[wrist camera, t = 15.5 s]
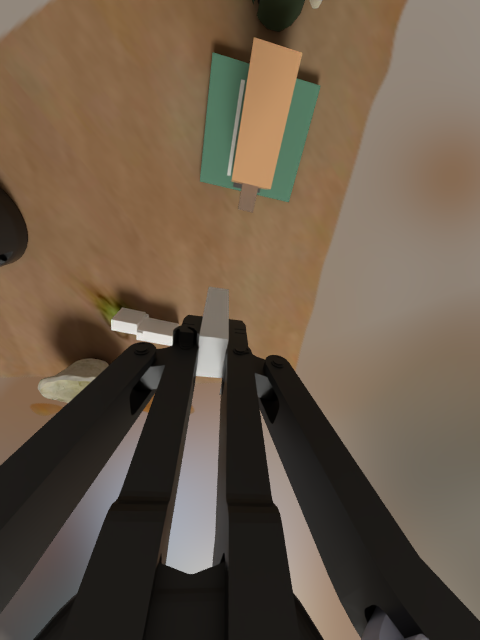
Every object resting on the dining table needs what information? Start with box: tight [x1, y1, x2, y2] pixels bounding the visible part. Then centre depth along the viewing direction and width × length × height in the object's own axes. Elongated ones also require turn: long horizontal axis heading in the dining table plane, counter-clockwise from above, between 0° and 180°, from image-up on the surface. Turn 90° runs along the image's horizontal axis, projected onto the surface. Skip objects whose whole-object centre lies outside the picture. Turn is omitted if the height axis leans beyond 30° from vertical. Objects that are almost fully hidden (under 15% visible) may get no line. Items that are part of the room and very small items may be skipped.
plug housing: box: [231, 37, 302, 212], centre depth 28 cm, size 5×15×7 cm, turn 169°
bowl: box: [38, 358, 109, 403], centre depth 49 cm, size 15×14×10 cm
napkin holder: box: [111, 307, 179, 346], centre depth 45 cm, size 15×11×6 cm
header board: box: [200, 53, 320, 202], centre depth 30 cm, size 14×14×7 cm
